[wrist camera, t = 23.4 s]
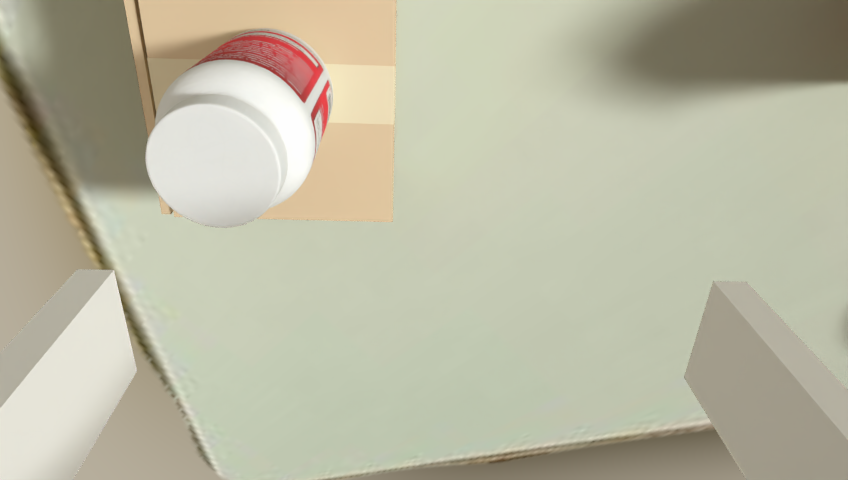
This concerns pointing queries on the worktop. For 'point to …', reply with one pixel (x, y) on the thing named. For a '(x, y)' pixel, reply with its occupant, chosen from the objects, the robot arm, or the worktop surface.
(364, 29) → the lid
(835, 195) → the worktop surface
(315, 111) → the pill bottle
